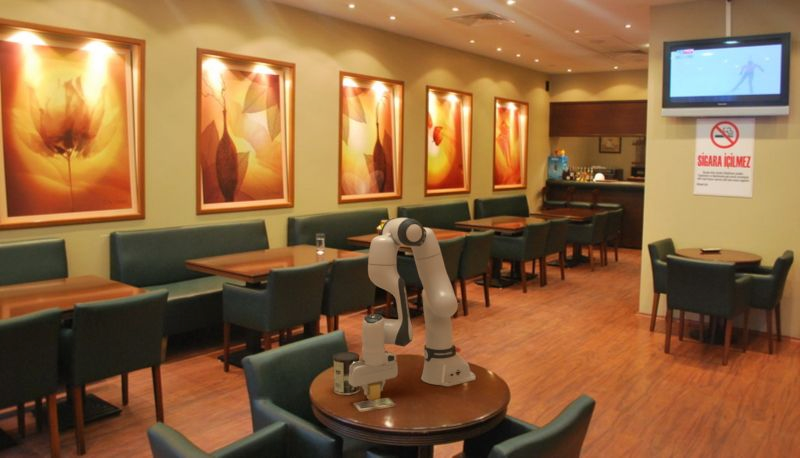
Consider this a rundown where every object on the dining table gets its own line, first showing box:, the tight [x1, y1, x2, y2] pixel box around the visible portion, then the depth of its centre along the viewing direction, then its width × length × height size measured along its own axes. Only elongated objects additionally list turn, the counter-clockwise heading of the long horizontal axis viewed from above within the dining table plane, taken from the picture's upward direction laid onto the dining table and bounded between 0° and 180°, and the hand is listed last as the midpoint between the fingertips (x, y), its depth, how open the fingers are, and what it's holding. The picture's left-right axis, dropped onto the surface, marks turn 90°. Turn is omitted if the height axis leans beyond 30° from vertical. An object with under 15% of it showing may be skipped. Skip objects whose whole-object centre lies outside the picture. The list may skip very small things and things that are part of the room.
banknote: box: [352, 397, 396, 413], centre depth 242 cm, size 14×7×1 cm, turn 112°
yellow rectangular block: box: [366, 381, 381, 401], centre depth 248 cm, size 4×4×6 cm
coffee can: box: [332, 351, 360, 396], centre depth 256 cm, size 10×10×14 cm
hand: (373, 392), depth 248 cm, fingers closed on yellow rectangular block, 4 cm apart
